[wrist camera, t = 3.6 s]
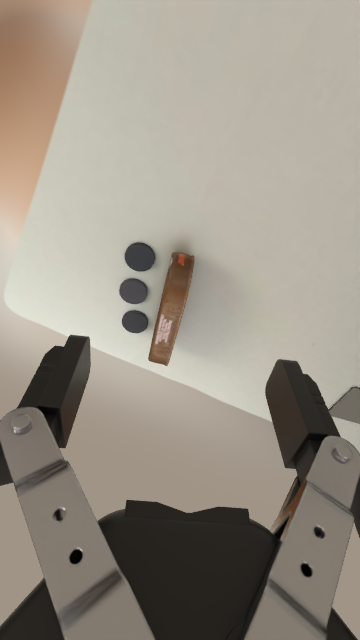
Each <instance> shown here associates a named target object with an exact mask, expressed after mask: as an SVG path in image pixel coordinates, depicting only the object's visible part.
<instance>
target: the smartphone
mask: <svg viewBox="0 0 360 640" xmlns="http://www.w3.org/2000/svg"><path fill="white" fill-rule="evenodd" d="M329 412H330V415H331V416H333V417H337V418H341V419H344V420H348V421H351V422H355V423H359V424H360V389H359V388H356V387H353V388H352V389H351V390H350V391H349V392H348V393H347V394H346V395H345V396H344V397H343V398H342V399H340V400H339V401H338V402H337V403H336V404H335V405H334V406H333V407H332V408H331V409H330V410H329Z"/></svg>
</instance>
